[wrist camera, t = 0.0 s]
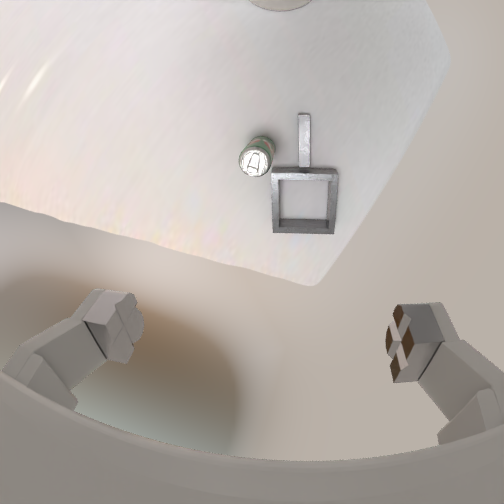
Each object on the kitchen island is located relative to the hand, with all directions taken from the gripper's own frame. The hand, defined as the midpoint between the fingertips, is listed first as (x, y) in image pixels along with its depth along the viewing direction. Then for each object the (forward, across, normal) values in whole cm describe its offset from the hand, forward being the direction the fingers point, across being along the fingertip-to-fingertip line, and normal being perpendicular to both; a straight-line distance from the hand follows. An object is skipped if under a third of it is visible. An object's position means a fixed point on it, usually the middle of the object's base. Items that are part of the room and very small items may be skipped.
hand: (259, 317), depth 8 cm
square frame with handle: (+48, -3, +9) cm, 49 cm away
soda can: (+48, +5, +4) cm, 49 cm away
